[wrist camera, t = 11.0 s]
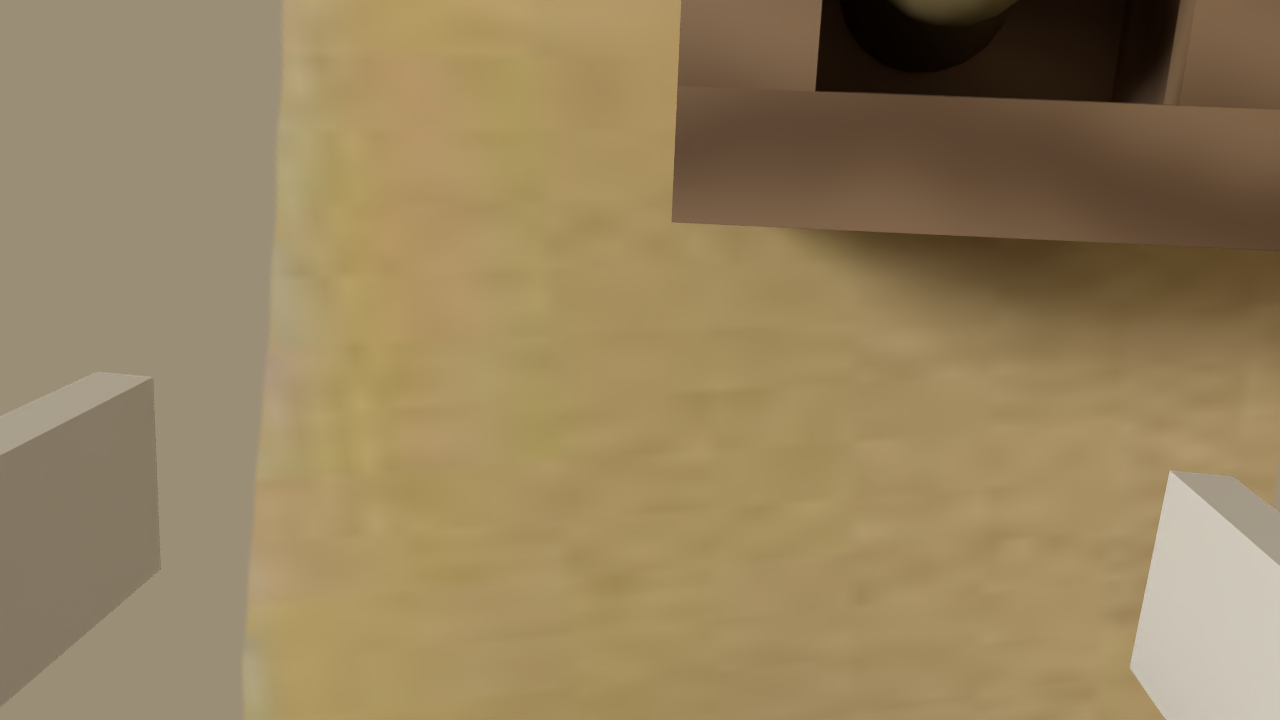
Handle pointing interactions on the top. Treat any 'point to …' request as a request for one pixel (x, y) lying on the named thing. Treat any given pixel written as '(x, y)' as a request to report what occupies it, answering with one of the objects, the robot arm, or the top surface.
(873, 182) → the walnut box
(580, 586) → the top surface
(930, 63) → the cork
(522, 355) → the top surface
